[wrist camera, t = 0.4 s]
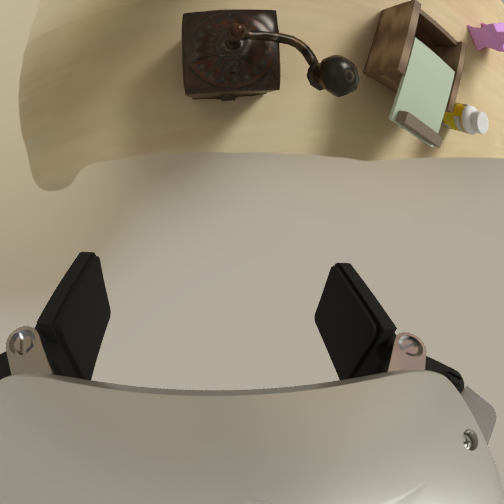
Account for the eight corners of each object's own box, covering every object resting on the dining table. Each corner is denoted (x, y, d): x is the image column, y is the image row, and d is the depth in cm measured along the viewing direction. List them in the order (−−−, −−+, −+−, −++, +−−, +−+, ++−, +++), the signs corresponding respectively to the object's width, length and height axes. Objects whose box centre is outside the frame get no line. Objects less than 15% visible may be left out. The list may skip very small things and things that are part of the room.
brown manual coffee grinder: (190, 104, 32) (170, 101, 17) (186, 33, 26) (167, -20, 11) (301, 99, 34) (366, 100, 18) (298, 31, 28) (359, -9, 13)
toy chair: (493, 49, 26) (540, 56, 14) (479, 54, 28) (530, 61, 15) (480, 18, 22) (527, 20, 9) (464, 21, 24) (516, 21, 11)
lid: (412, 37, 22) (424, 36, 20) (451, 71, 24) (464, 72, 22) (388, 119, 28) (400, 121, 26) (430, 146, 31) (442, 151, 28)
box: (382, 10, 25) (415, -1, 18) (432, 47, 29) (466, 46, 21) (363, 72, 32) (397, 69, 24) (416, 106, 35) (452, 113, 27)
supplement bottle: (450, 97, 34) (487, 104, 26) (456, 122, 37) (492, 133, 28) (434, 105, 35) (472, 112, 26) (441, 131, 37) (478, 142, 29)
